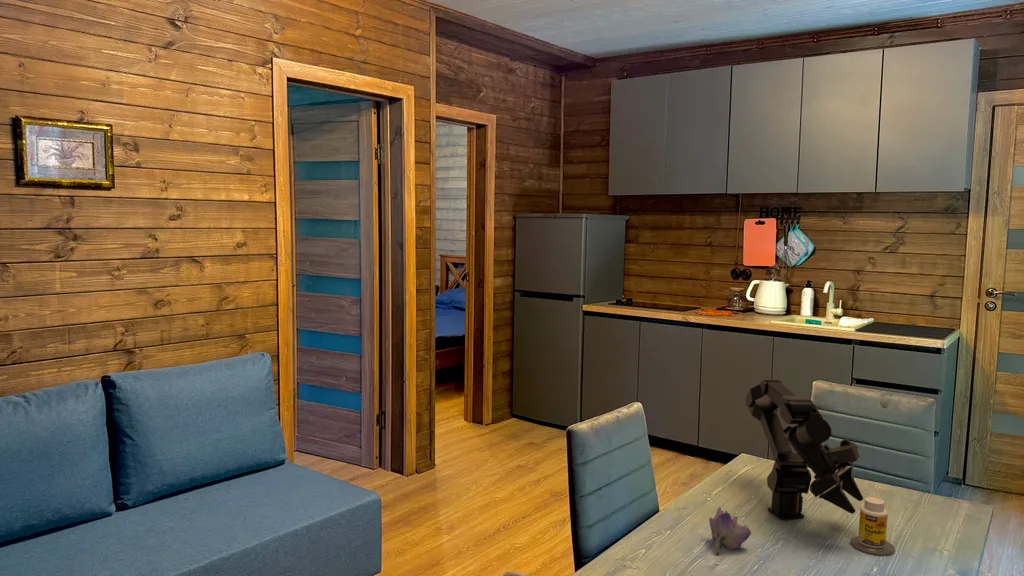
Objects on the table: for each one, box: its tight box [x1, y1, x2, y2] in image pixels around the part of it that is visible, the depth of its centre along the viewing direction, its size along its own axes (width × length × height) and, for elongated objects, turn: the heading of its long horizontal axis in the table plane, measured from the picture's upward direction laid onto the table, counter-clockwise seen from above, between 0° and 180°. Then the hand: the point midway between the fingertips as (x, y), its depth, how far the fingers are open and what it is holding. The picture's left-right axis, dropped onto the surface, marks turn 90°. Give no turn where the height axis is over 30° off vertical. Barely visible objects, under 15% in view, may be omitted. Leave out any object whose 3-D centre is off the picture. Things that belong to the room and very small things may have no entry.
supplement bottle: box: [857, 496, 889, 548], centre depth 165 cm, size 6×6×10 cm
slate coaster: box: [849, 535, 896, 557], centre depth 165 cm, size 9×9×1 cm
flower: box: [708, 507, 752, 556], centre depth 162 cm, size 9×9×10 cm
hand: (857, 506), depth 167 cm, fingers open, 9 cm apart
